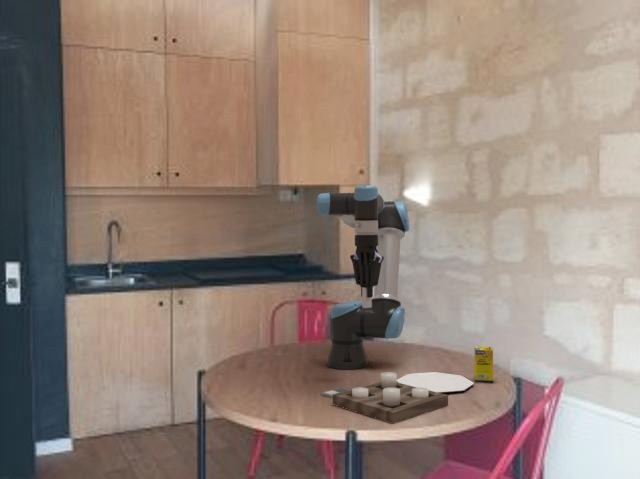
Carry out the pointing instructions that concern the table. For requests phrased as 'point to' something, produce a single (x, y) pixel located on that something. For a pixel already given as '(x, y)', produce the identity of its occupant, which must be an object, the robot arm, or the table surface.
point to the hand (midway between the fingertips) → (367, 307)
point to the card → (334, 391)
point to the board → (391, 413)
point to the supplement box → (483, 364)
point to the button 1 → (360, 392)
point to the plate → (437, 382)
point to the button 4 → (420, 393)
